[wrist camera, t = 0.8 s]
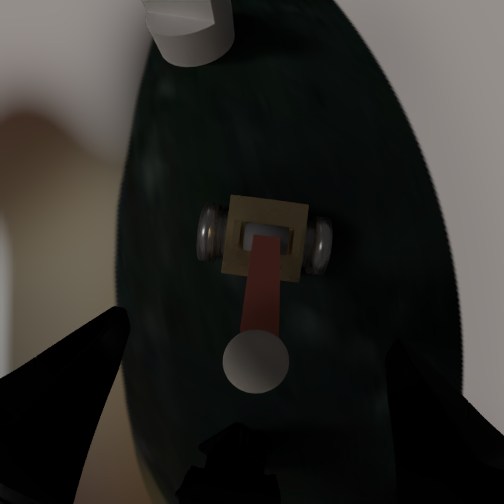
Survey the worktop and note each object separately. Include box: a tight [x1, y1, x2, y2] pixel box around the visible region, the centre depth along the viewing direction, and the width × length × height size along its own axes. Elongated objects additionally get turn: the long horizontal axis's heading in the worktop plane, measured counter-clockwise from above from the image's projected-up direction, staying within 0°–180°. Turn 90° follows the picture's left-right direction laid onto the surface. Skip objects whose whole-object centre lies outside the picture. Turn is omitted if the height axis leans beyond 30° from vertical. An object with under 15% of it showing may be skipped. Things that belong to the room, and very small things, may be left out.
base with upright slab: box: [142, 0, 235, 67], centre depth 20 cm, size 9×9×12 cm
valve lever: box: [223, 222, 290, 393], centre depth 16 cm, size 3×3×12 cm
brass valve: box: [197, 195, 332, 282], centre depth 23 cm, size 6×10×8 cm, turn 83°
